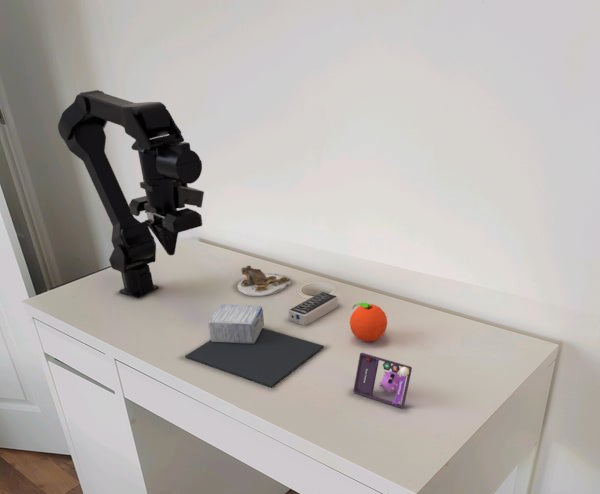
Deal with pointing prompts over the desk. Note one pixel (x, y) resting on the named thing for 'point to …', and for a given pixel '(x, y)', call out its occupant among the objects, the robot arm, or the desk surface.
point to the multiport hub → (313, 308)
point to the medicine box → (236, 323)
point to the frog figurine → (261, 282)
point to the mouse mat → (258, 356)
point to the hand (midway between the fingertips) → (171, 254)
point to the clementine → (368, 322)
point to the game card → (390, 379)
